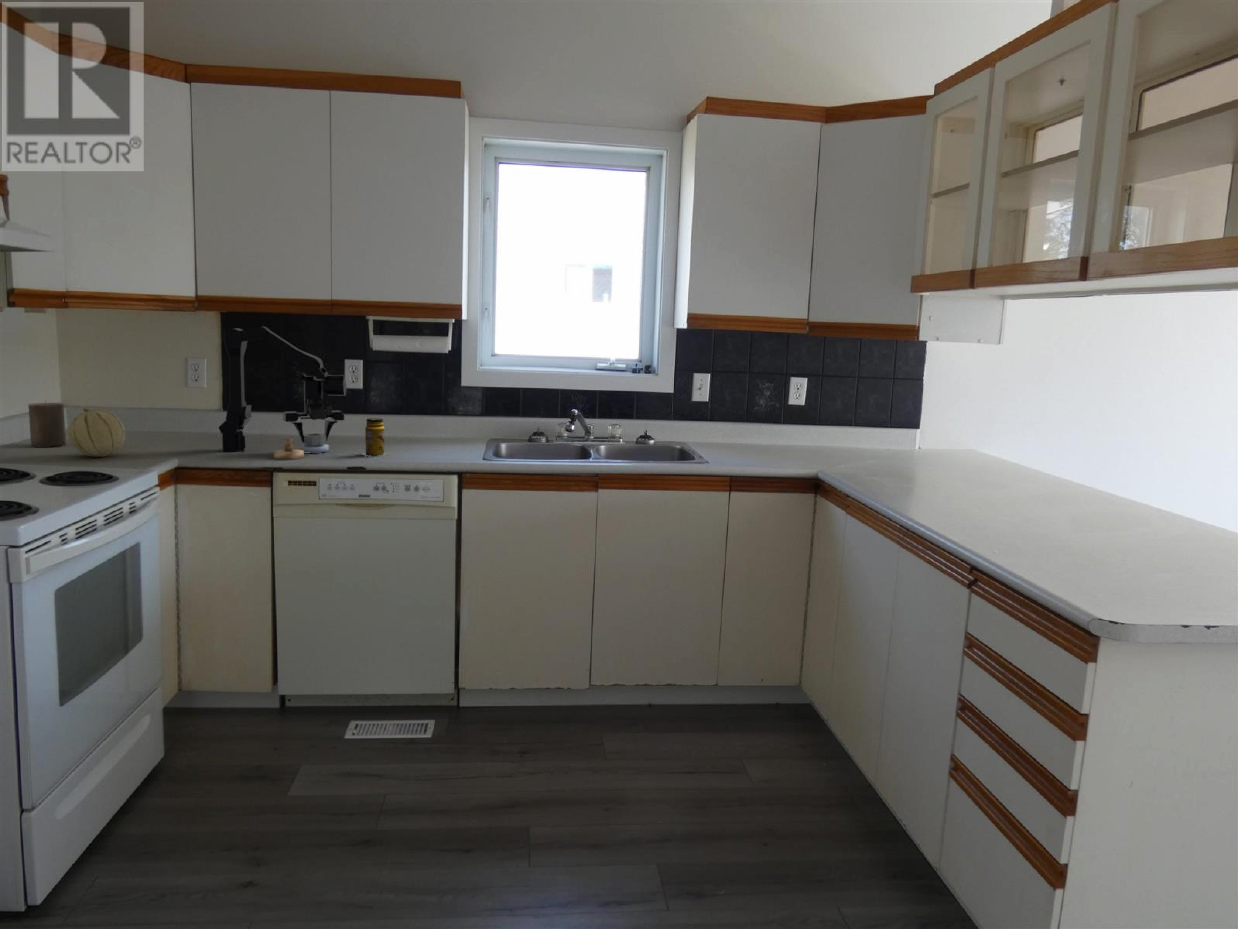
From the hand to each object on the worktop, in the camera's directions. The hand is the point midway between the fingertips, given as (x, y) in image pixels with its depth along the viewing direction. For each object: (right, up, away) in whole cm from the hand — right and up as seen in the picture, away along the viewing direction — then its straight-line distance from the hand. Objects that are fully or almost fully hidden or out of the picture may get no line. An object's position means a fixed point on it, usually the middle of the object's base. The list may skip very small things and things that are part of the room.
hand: (314, 441), depth 293 cm
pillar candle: (-85, -2, -6) cm, 85 cm away
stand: (-4, -5, -13) cm, 14 cm away
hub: (0, -3, +1) cm, 3 cm away
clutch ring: (0, -1, 0) cm, 1 cm away
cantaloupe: (-58, -5, -23) cm, 63 cm away
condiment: (+20, -5, -2) cm, 20 cm away
